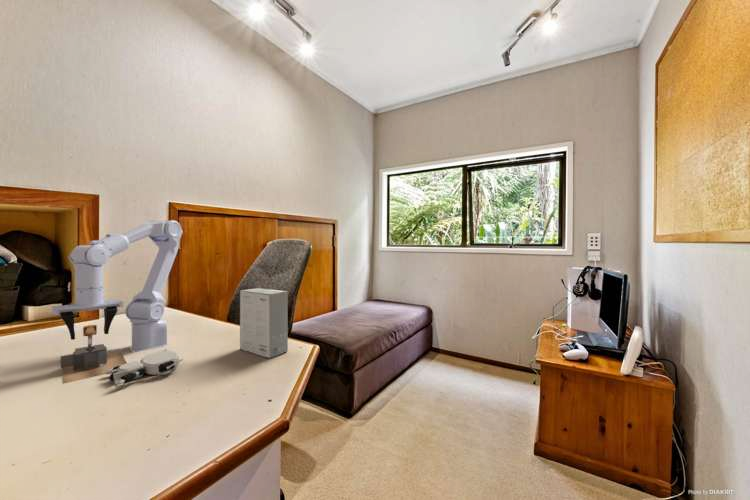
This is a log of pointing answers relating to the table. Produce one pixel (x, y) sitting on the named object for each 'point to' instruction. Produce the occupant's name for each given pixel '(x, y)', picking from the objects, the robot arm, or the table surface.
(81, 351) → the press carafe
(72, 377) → the walnut board
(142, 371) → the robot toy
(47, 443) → the table surface
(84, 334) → the plunger
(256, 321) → the hard drive box
